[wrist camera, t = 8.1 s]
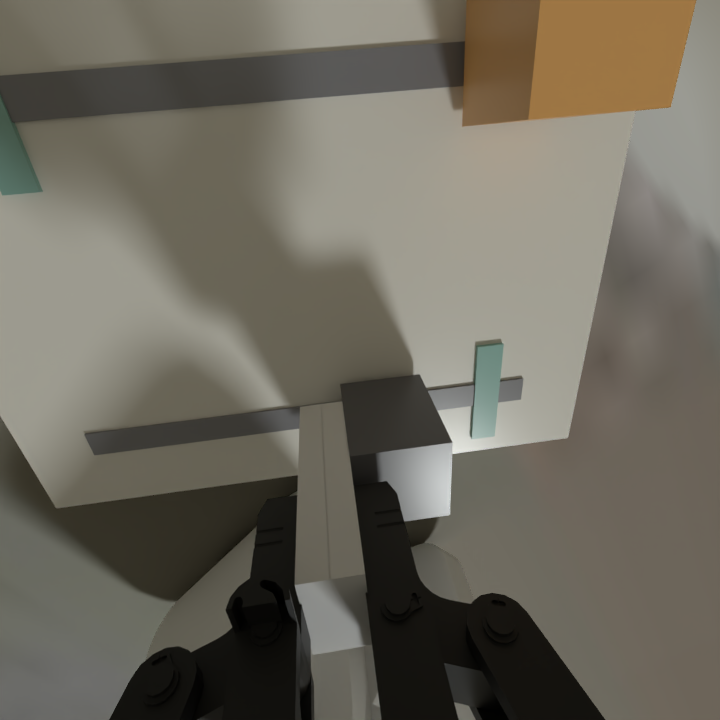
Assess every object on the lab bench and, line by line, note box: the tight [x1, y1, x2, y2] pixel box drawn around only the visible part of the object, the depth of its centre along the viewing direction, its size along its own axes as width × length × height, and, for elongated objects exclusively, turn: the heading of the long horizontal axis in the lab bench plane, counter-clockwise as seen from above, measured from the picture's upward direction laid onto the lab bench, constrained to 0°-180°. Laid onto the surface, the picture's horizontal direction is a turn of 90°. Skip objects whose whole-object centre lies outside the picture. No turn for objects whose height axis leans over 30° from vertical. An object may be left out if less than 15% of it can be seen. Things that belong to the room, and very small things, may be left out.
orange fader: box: [462, 0, 696, 127], centre depth 9 cm, size 3×3×4 cm
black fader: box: [340, 374, 453, 522], centre depth 14 cm, size 3×3×4 cm
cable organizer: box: [146, 491, 476, 720], centre depth 19 cm, size 15×11×12 cm
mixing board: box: [0, 0, 636, 508], centre depth 15 cm, size 22×17×3 cm
